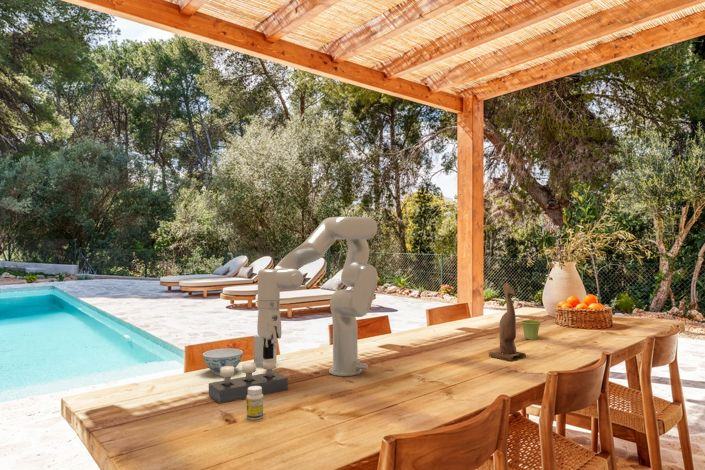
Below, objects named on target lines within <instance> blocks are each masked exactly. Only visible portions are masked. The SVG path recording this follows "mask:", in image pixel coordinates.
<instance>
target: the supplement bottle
mask: <svg viewBox="0 0 705 470" xmlns="http://www.w3.org/2000/svg"><path fill="white" fill-rule="evenodd" d="M246 418H247V419H248V420H250V421H251V420H252V421H253V420H254V421H255V420H261V419H262V418H264V394H262V387H260V386H251V387H249V388H248V395H247V398H246Z"/></svg>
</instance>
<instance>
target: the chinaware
mask: <svg viewBox="0 0 705 470" xmlns="http://www.w3.org/2000/svg"><path fill="white" fill-rule="evenodd" d="M243 354H244V351H243V350H241V349H238V348H217V349H216V348H215V349H211V350H208V351H205V352H203V353H202V359H203V360H204V364H205V365H206V366H207V368H209V370H211V371H213V374H214V375H215V376H216V375H217V376H220V368H221V367H224V366H233V367H234V369H236V368H237V367H238V366H239V364H240V363H241V360H242V357H243Z"/></svg>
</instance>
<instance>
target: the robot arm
mask: <svg viewBox="0 0 705 470" xmlns="http://www.w3.org/2000/svg"><path fill="white" fill-rule="evenodd" d="M377 232H378V223H377V222H376V220H375V219H374V218H372V217H370V216H330V217H327V218H325V219H323V220H322V221H321V222H320V223H319V225H318V226H317V227H316V228H315V229H314V231H312V232H311V234H310V235H309V236H308V237H307V238H306V239H305V240H304V242H302V243H300V245H298V246H297V247H295V248H294V249H292V250H291V251H290V252H288V253H287V254H286V255H285V256H284V257H283V258H281V260H279V262H277V264H276V265H275V267H274V268H264V269H260V270H259V271H258V272H257V310H258V312H257V313H258V314H257V335H259V336H260V339H261V340H262V345H263V358H264V359H273V355H274V343H276V344H277V343H278V340H277V339H281V338H282V319H281V311H280V310H281V309H280V307H281V303H280V301H281V299H280V297H281V294H280V293H281V290H289V291H290V290H291V291H293V290H297V289H299V288H300V287H301V286H302V285H303V283H304V276H303V273H302V272H301V271H300V269H301V268H302V267H304V266H306V265H308V264H312V263H314V262H316V261H318V260H321V258H322V257H323V256H324V255H325V253H326V252H327V251H328V250H329V248H331V246H332V245H334V243H335V242H336V241H337V240H345V241H346V245H347V248H348V249H347V255H346V258H345V261H344V266H343V268H342V272H341V275H340V276H341V277H340V280H341V282H342V285H344V286H346V287H349V288H353V290H352V289H338V290H336V291H335V292H334V293H332V294H331V297H330V299H329V303H330V304H329V306H330V307H329V308H330V313H331V318H332V366H331V367H330V368H329V369H328V372H329V374H330V375H334V376H337V377H338V376H339V377H352V376H357V375H360V374H361V373H362V371H363V370H366V371H367V370H368V369H369V365H368V364H367V363H362V362H361V359H359V358H358V356H359V355H358V351H359V350H358V321H357V318H361V317H362V318H363V317H364V316H366V315H367V314H368V313H369V312H370V309H371V307H372V303H373V300H374V296H375V294H376V289H377V285H378V281H379V279H378V278H379V275H378V271H377V269H376V267H375V266H373V265H372V264H369V263H368V261H369V257H370V248H369V247H370V246H369V244H368V241H367V240H369V239H372V238H373V237H375V236H376V234H377ZM271 337H272V338H271Z"/></svg>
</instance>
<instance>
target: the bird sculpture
mask: <svg viewBox="0 0 705 470" xmlns="http://www.w3.org/2000/svg"><path fill="white" fill-rule="evenodd" d="M502 288H503V289H502V290H503V293H504V298H505V301H506V302H505V303H506V312H504V313H503V315H502V316H501V317H500V321H499V332H498V333H499V349H497V350H496V349H495V350H493V351H492V350H491V351H489V352H488V358H493V359H496V360H498V359H499V360H501V361H508V362H511V361H512V359H513V357H515V356H516V357H523V358H527V354H526V353H525V352H521V351H517V346H516V344H515V340H516V338H517V324H516V323H517V322H516V321H517V320H516V319H517V318H516V311H515V306H514V303H513V300H512V297H511V296H513V297H516V290H515V289H514V288H512V287H511V285H510V283H509V282H506V283H505V284H503V287H502Z"/></svg>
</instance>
